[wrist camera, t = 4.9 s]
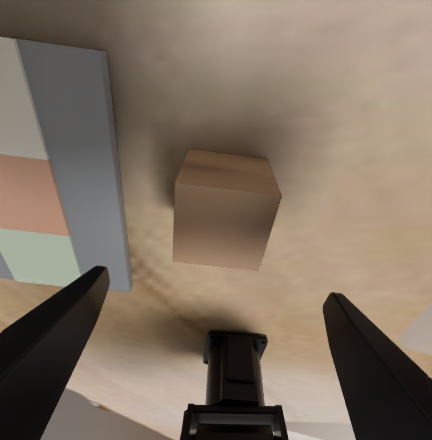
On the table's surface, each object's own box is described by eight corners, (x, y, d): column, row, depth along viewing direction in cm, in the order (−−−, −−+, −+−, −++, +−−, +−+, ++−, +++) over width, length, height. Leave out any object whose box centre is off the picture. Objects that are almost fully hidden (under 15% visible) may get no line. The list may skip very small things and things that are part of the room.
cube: (251, 222, 18) (258, 271, 14) (185, 214, 18) (172, 261, 14) (266, 158, 15) (282, 195, 11) (188, 148, 15) (174, 182, 11)
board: (132, 285, 22) (128, 293, 22) (-22, 268, 22) (-31, 276, 21) (106, 51, 12) (97, 51, 12) (-179, 10, 12) (-209, 7, 11)
